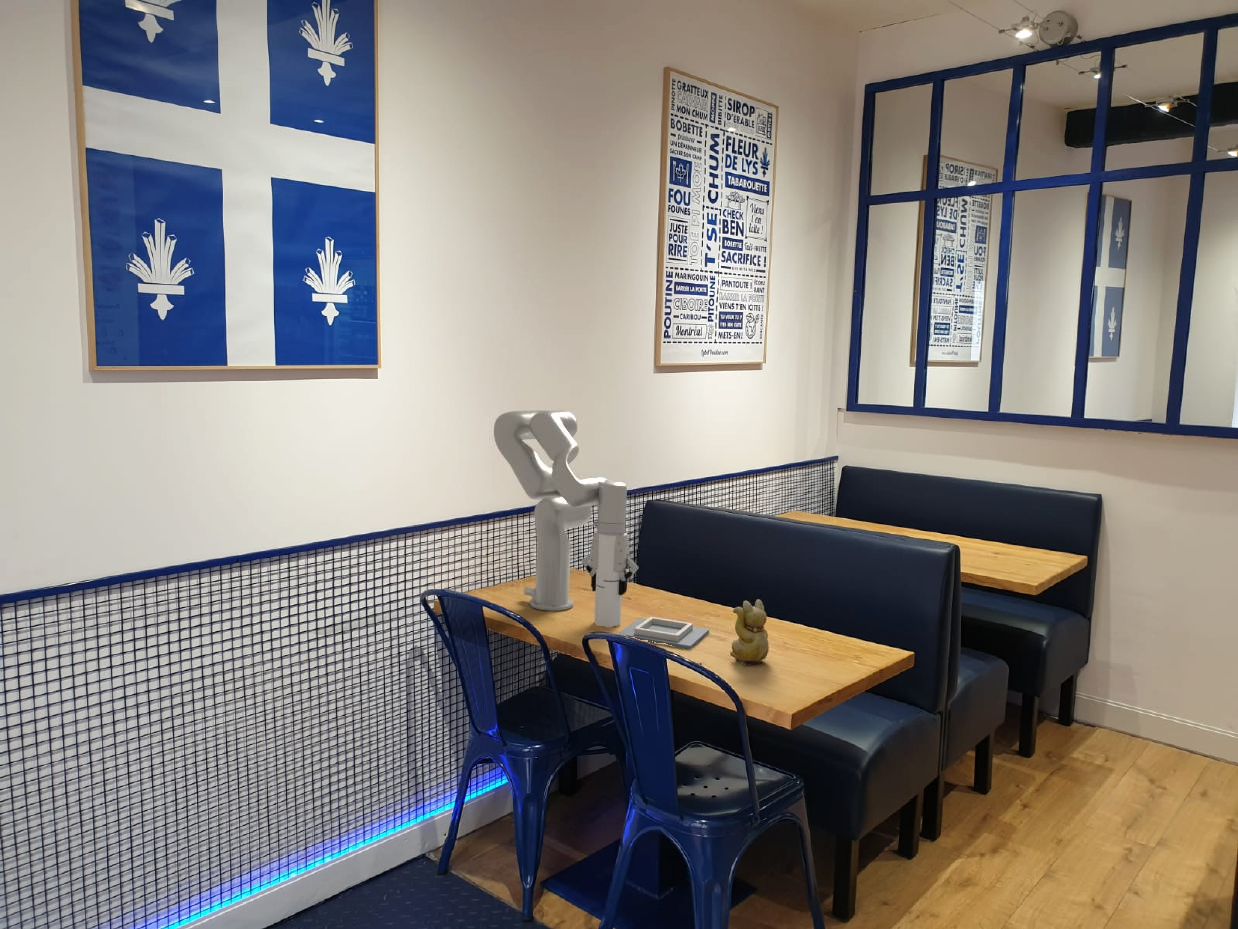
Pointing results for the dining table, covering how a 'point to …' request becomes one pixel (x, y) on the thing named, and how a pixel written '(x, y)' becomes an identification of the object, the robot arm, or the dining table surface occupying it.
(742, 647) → the decorative figurine
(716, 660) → the dining table surface
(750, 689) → the dining table surface
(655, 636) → the collar board
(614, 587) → the cylindrical container
